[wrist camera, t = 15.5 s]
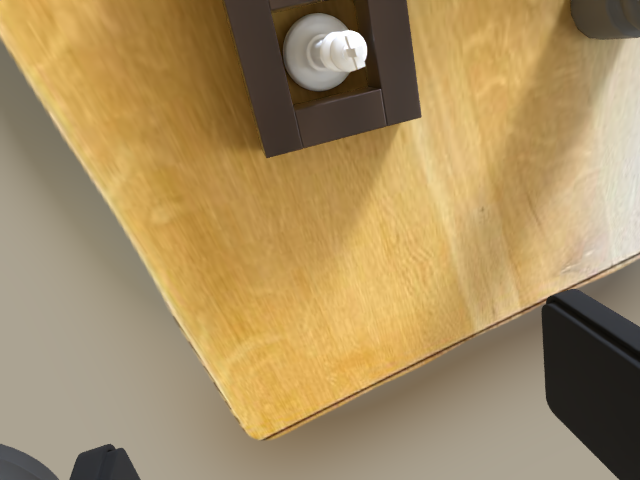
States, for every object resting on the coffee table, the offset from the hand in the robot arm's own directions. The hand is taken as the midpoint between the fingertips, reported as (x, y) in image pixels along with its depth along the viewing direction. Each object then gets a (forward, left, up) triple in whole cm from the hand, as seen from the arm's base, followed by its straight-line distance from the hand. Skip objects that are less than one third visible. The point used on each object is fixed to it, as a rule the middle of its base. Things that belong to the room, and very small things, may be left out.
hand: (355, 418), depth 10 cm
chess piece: (+6, +6, -26) cm, 28 cm away
